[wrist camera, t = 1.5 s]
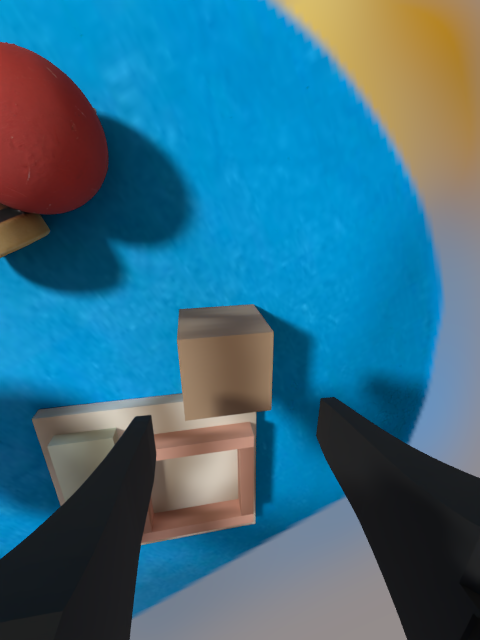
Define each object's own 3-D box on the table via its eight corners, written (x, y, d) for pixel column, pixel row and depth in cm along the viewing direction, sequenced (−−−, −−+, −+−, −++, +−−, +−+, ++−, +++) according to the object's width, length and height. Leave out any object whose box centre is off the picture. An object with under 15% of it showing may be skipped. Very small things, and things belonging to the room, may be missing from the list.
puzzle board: (82, 543, 24) (70, 578, 22) (39, 409, 19) (19, 435, 17) (252, 512, 27) (259, 541, 24) (253, 385, 22) (261, 405, 19)
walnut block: (185, 374, 21) (185, 421, 16) (179, 308, 19) (176, 340, 14) (253, 367, 21) (271, 410, 17) (253, 304, 20) (273, 331, 15)
